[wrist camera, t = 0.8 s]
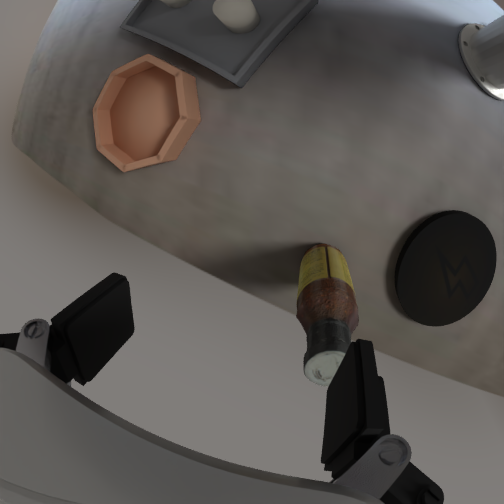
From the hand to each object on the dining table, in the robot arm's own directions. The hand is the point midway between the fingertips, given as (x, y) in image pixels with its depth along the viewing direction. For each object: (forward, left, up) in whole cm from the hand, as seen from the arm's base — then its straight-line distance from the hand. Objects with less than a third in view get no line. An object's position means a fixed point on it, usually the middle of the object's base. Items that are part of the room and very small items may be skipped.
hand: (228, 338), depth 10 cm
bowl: (+2, -24, -26) cm, 36 cm away
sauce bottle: (+4, +9, -27) cm, 28 cm away
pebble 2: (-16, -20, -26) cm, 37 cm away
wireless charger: (-8, +24, -27) cm, 37 cm away
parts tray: (-16, -26, -26) cm, 41 cm away
